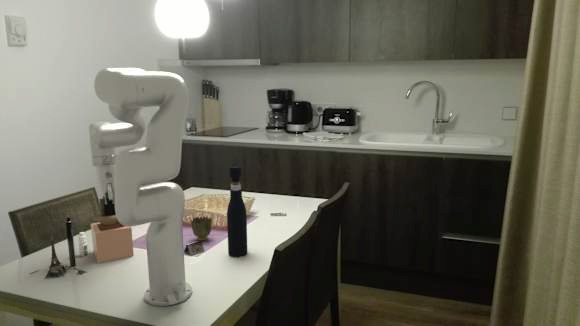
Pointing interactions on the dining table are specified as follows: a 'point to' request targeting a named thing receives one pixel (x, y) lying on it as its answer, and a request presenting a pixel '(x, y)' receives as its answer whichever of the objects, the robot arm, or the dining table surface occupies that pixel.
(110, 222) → the lid
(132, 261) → the dining table surface
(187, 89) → the robot arm
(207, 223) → the cup
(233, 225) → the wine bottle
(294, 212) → the dining table surface
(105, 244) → the open-top pink box
